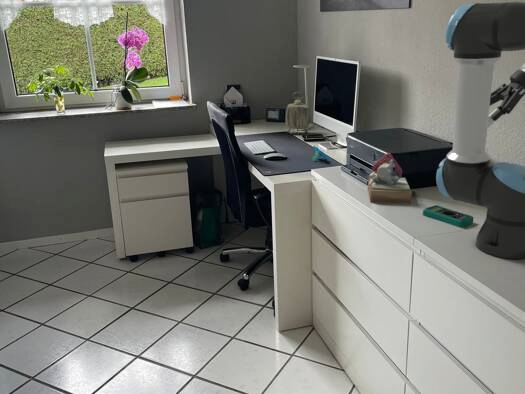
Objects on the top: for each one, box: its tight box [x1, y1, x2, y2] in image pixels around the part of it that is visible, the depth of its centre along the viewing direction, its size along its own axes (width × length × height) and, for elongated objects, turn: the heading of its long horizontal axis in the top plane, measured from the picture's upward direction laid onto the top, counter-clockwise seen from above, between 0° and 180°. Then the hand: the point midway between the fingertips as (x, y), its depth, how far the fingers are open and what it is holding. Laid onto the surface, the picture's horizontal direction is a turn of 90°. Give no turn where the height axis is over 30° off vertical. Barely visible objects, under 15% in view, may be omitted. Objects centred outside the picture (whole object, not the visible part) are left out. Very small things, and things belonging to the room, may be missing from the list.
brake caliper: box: [368, 152, 403, 185], centre depth 184 cm, size 11×11×12 cm
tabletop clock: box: [285, 91, 311, 135], centre depth 301 cm, size 14×9×25 cm, turn 84°
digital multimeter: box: [422, 204, 474, 228], centre depth 163 cm, size 7×15×3 cm, turn 37°
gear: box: [312, 145, 330, 163], centre depth 238 cm, size 11×6×10 cm
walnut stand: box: [367, 176, 413, 205], centre depth 186 cm, size 18×14×5 cm
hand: (475, 123), depth 169 cm, fingers open, 13 cm apart
